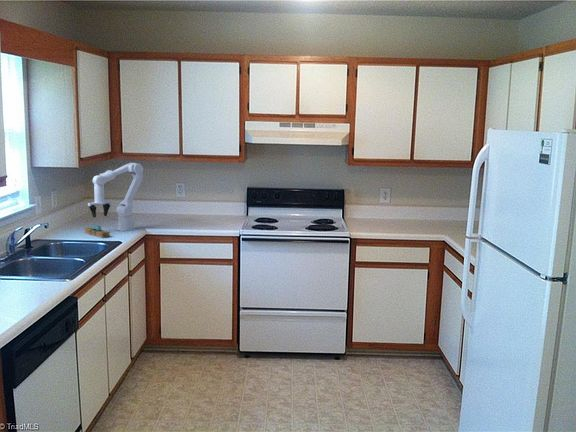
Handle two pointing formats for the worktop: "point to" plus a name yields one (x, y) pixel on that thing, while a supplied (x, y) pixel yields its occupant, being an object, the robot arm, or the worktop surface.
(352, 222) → the worktop surface
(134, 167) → the robot arm
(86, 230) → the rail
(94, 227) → the clip
